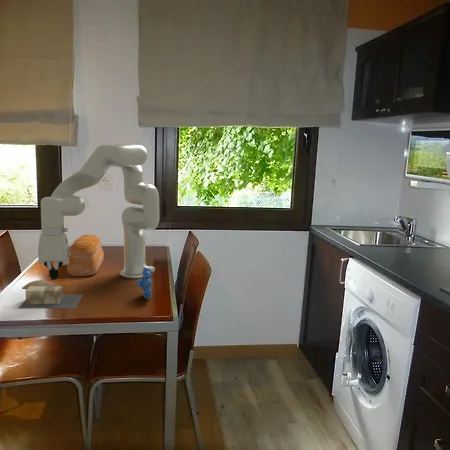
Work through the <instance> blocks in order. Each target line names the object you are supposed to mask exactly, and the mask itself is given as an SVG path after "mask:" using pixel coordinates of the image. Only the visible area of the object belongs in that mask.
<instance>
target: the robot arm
mask: <svg viewBox="0 0 450 450" xmlns="http://www.w3.org/2000/svg"><path fill="white" fill-rule="evenodd" d="M147 159H148V150H147V149H146V148H145V147H144V146H143V145H141V144H140V145H139V144H131V143H130V144H129V143H117V144H101V145H98V146H97V147H96V148H95V149H94V150H93V152H92V153H91V154H90V156H89V157H88V159H86V161H85V163H84V164H83V165H82V166H81V168H80V169H79V170H78V171H76V172H75V173H72V174H71V175H70V176H69V177H66V178H65V179H64V180H63V181H61V182H60V183H59V185H57V187H56V188H55V189H54V191H53V192H52V194H51V195H50V196H45V197H43V198H41V199H40V218H41V220H40V221H41V222H40V223H41V233H40V234H39V238H38V246H37V247H38V248H37V257H38V261H37V264H39V265H42V266H45V268H47V270H48V273H49V276H48V277H49V278H50V281H56V280H57V279H58V278H59V277H60V275H59V274H60V273H59V272H60V270H59V269H60V268H61V267H62V266H64V265H67V264H68V263H69V260H68V259H69V256H70V249H69V248H70V247H69V242H68V241H69V240H68V236H67V233H66V232H69V229H68V227H65V225H64V223H65V221H64V217H65V216H66V217H73V216H74V217H76V216H79V215H81V214H82V213H83V212H84V211H85V209H86V203H85V201H84V199H83V198H81V197H80V196H77V195H75V194H76V193H78V192H80V191H81V190H85V189H88V188H91V187H94V186H96V185H98V184H99V183H100V182H101V180H102V179H103V177H104V176H105V175H106V173H107V172H108V170H109V169H110V168H111V167H117V168H120V169H121V170H122V174H123V175H122V176H123V193H124V194H123V195H124V199H125V201H126V202H127V203H129V204H131V205H133V206H127V207H126V208H124V209H123V211H122V213H121V223H122V227H123V269H122V270H121V271H120V276H121V277H124V278H127V279H142V277H143V273H142V272H143V270H144V269H145V268H146V267H148V268H149V269H150V270H151V272H155V271H156V268H155V266H152V265H150V266H149V265H147V263H146V234H145V231H144V230H146V231H153V230H155V229H157V227H158V226H159V224H160V195H159V191H158V188H157V187H156V186H155V185H153V184H149V183H145V181H144V170H143V168H142V165H144V164H145V163H146V162H147ZM134 205H139V206H134ZM141 206H142V207H141ZM53 263H54V264H55V265H54V264H53Z"/></svg>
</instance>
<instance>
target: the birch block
mask: <svg viewBox="0 0 450 450" xmlns="http://www.w3.org/2000/svg"><path fill="white" fill-rule="evenodd" d="M63 295H64V286H62V285H59V286H30V287H29V288H28V289H27V290H26V289H25V300H26V304H60V303H61V301H62V300H63Z"/></svg>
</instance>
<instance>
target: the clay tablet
mask: <svg viewBox="0 0 450 450" xmlns="http://www.w3.org/2000/svg"><path fill="white" fill-rule="evenodd" d="M30 286H60V285H59V284H56V283H52V282H50V281H48V280H45V279H37V280H33V281H30V282H28V283H26V284H25V285H24V286H22V287H21V288H22V289H24V290H25V291H26V290H27V289H28V288H29V287H30Z"/></svg>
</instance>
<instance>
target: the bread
mask: <svg viewBox="0 0 450 450" xmlns="http://www.w3.org/2000/svg"><path fill="white" fill-rule="evenodd" d="M101 244H102V241H101V239H100V238H99V237H98V236H97V235H94V234H83V235H81V236H79V237H78V238H76V239H75V240H74V241H73V243H72V244H71V246H70V247H69V248H70V249H69V257H68V260H69V263H68V264H66V266H67V267H66V269H67V273H68V275H69V276H71V277H72V276H73V277H88V276H93V275H96V273H97V272H98V270H99V269H100V267H101V265H102V264H103V262H104V255H105V253H104V249H103V248H102V245H101Z"/></svg>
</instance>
